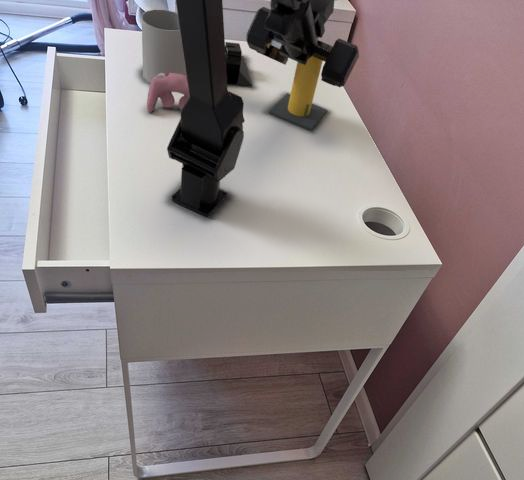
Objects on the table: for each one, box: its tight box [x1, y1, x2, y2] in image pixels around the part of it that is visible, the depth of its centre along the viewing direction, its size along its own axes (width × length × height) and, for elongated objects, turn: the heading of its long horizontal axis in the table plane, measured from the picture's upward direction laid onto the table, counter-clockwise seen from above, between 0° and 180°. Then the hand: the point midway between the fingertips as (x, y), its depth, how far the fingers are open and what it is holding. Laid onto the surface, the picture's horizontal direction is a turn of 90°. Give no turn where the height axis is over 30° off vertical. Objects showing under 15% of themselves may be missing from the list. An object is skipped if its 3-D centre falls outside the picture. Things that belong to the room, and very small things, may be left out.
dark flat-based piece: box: [225, 41, 253, 88], centre depth 101 cm, size 12×7×5 cm, turn 10°
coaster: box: [268, 92, 328, 132], centre depth 97 cm, size 9×9×1 cm
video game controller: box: [146, 73, 189, 113], centre depth 89 cm, size 10×5×7 cm, turn 84°
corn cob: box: [288, 56, 324, 117], centre depth 92 cm, size 5×4×12 cm
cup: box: [141, 9, 187, 84], centre depth 93 cm, size 8×8×10 cm
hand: (307, 71), depth 91 cm, fingers open, 9 cm apart
